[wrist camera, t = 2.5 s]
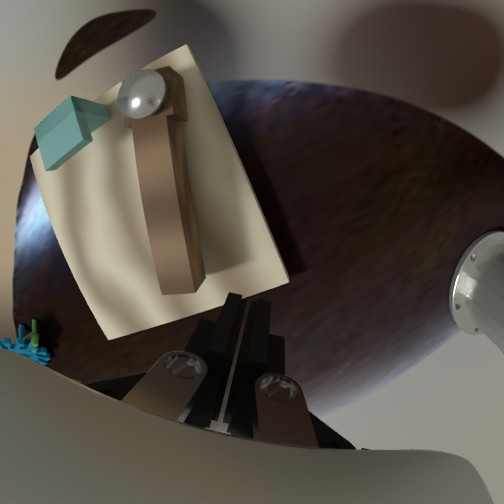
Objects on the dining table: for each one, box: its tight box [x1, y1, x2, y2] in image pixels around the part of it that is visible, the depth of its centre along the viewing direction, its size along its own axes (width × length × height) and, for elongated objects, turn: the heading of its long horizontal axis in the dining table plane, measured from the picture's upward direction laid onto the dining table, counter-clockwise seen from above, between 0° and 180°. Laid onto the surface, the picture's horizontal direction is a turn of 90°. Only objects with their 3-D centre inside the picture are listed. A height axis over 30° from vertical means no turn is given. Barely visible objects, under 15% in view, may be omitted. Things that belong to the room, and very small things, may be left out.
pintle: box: [117, 69, 167, 119], centre depth 20 cm, size 4×4×5 cm
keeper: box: [35, 96, 111, 171], centre depth 21 cm, size 5×4×6 cm
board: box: [30, 44, 289, 340], centre depth 26 cm, size 22×24×2 cm
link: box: [122, 65, 206, 295], centre depth 22 cm, size 18×4×4 cm, turn 8°
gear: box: [0, 319, 50, 365], centre depth 32 cm, size 11×6×10 cm
